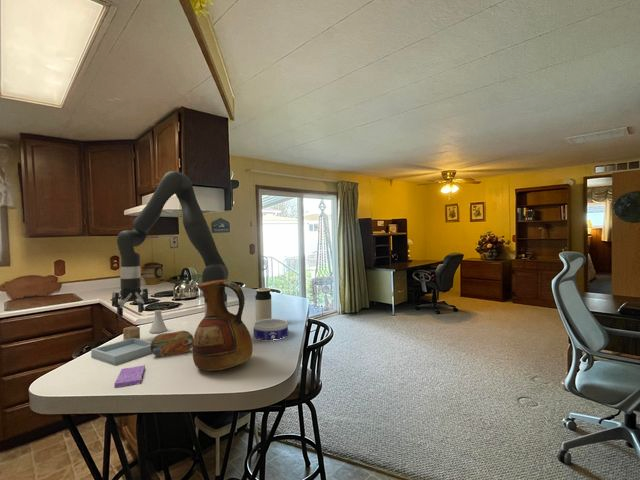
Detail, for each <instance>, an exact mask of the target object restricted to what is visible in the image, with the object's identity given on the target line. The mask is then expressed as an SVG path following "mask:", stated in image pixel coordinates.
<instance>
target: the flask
mask: <svg viewBox="0 0 640 480" xmlns="http://www.w3.org/2000/svg"><path fill="white" fill-rule="evenodd" d="M153 312H154V317H153V322H152V324H151V327H150V330H149V333H151V334H162V333H164V332H165V333H166V332H167V331H168V328H167V326H166V324H165V322H164V319H163V316H162V313H163V310H161V309H156V310H153Z"/></svg>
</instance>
